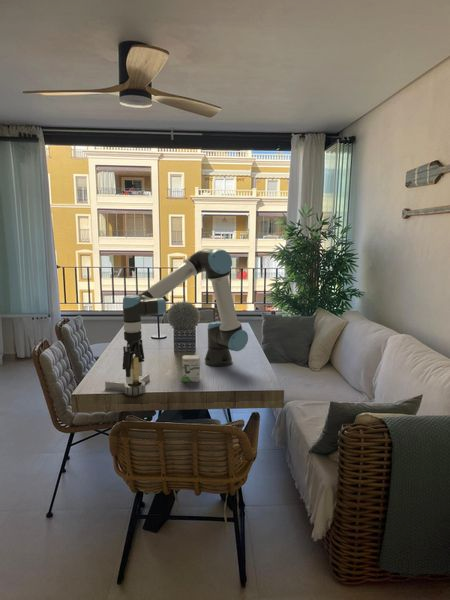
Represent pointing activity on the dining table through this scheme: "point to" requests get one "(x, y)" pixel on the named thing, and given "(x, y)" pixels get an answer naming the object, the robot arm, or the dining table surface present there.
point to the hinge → (127, 388)
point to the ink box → (190, 368)
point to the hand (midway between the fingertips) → (134, 379)
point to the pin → (135, 372)
